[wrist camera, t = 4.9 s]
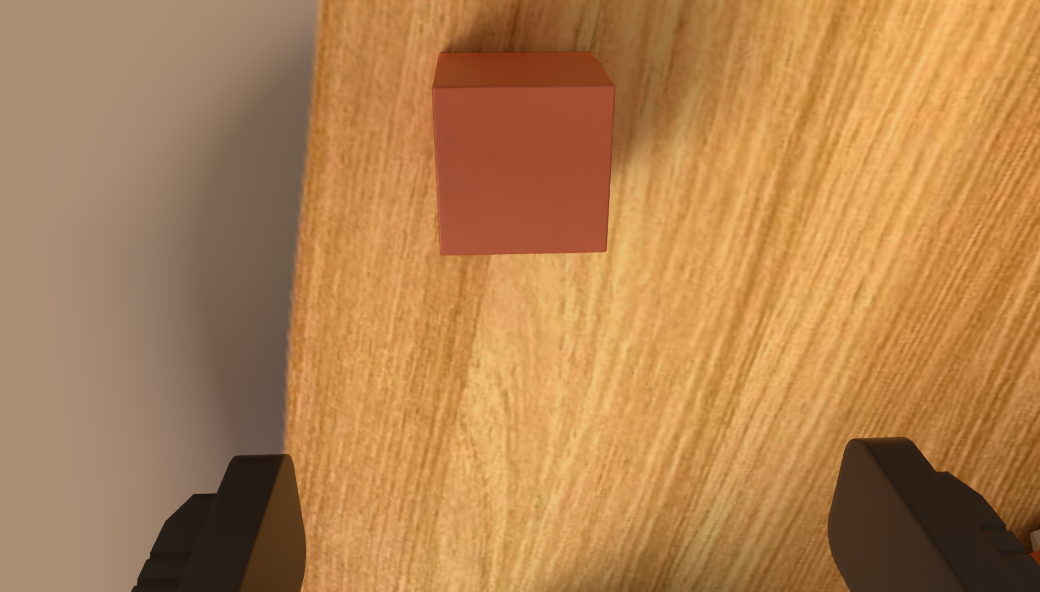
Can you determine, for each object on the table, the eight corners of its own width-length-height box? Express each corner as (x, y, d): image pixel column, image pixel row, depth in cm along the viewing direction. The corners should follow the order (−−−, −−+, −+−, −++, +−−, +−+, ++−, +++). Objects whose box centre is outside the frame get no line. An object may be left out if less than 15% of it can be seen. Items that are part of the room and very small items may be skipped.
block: (445, 198, 26) (440, 256, 22) (438, 52, 24) (431, 86, 20) (585, 195, 26) (606, 253, 22) (591, 51, 24) (616, 85, 20)
